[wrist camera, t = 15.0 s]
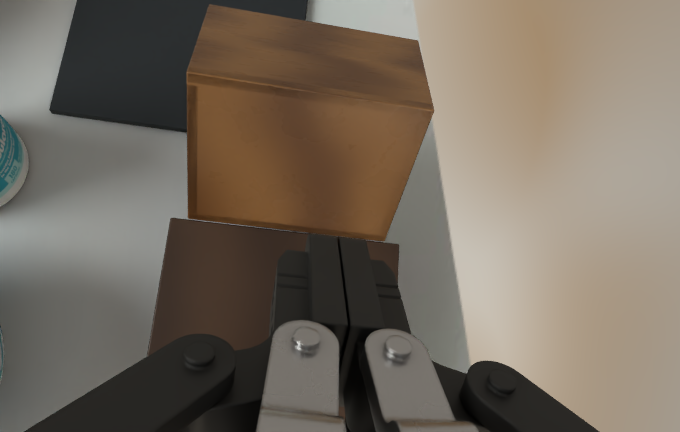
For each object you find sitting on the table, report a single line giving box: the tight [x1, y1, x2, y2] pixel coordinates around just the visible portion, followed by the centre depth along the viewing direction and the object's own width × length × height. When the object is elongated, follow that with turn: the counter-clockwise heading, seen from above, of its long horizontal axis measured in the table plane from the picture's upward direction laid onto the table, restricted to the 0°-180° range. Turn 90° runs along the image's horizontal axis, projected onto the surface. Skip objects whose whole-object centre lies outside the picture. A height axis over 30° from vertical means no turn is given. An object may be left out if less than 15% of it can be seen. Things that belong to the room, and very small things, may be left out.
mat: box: [49, 0, 307, 132], centre depth 45 cm, size 18×22×1 cm
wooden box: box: [186, 4, 434, 241], centre depth 32 cm, size 12×10×7 cm
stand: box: [147, 218, 399, 421], centre depth 35 cm, size 14×11×8 cm
